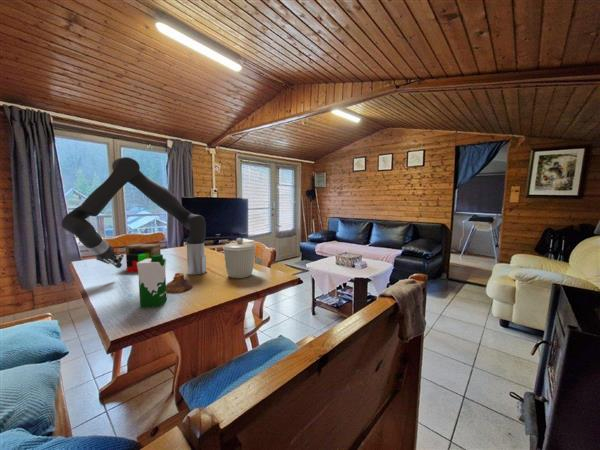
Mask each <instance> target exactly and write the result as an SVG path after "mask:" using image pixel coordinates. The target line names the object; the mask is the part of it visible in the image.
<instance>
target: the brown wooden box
mask: <svg viewBox="0 0 600 450" xmlns="http://www.w3.org/2000/svg"><path fill="white" fill-rule="evenodd" d="M137 251H147V252H151V256H152V255H157V254H161V244H160V243H131V244H128V245H126V246H125V256H126V255H128V254H131V253H134V252H137ZM125 260H126V259H125ZM125 262H126V263H127V260H126V261H125Z"/></svg>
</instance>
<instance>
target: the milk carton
mask: <svg viewBox="0 0 600 450" xmlns="http://www.w3.org/2000/svg"><path fill="white" fill-rule="evenodd" d="M166 261H167V258H164V255H163V254H157V255H152V256H151V259H145V260H142V261H140V262H138V263H137V268H138V272H137V274H138V290H139V291H138V292H139V307H140V308H141V309H143V308H144V309H145V308H146V309H147V308H160V307H161V306H162V305H163V304H164V303H166V302H167V300H168V299H167V292H166V285H167V282H166V281H167V279H166V265H167V262H166Z"/></svg>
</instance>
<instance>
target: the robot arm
mask: <svg viewBox="0 0 600 450" xmlns="http://www.w3.org/2000/svg"><path fill="white" fill-rule="evenodd" d="M140 167H141V166H140V163H139V162H138V161H137V160H136V159H134V158H132V157H129V156H123V157H119V158H116V159H115V160H114V161H112V165H111V168H112V172H111V173H110V175H109V176H108V177H107V179H105V180H104V182H102V184H100V185H99V186H98V187H97V188H96V189H94V190H93V191H92V192H91V193H90V194H89V195H88V196H87V198H86V199H85V200H84V201H83V202H82V203H81V204H80V205H79V206H77V207H76V208H74V209H72V210H71V211H70V212H69V213H67V214H66V215H65V216H64V217H63V218H62V221H61V227H62V228H63V229H64V230H65V231H67V232H68V233H71V234H72V235H74V236H75V237H77V238H78V240H79V242H80V243H81V244H82V245H83V246H85V248H86V249H87V250H88V251H89V252H90V253H91V254H92V255H93V256H94V257H95V258H96V260H97V261H100V262H102V263H105V264H107V265H110V264H111V265H113V266H114V267H115V268H116V269H120V268H122V263H121V262H122V260H123V258H124V256H125V255H123V254H121V255H119V254H118V253H117V252H115V250H114V247H113V246H112V245H111V244H110V243H109V242H108V241H107V240H106V239H105V238H104V237H103V236H101V235H100V234H99V233H98V232H97V230H96V229H95V227H94V225H93V224H92V223H91V222H90V221H88V220H87V219H88V218H89V217H98V215H100V213H102V211H103V210H104V209H105V208H106V207H107V205H108V204H109V203H110V202H111V200H112V199H113V198H114V197H115V195H116V194H117V193H118V192H119V191H120V190H121V189H122V188H123V187H124V186H125V185H126V184H127V183H129V184H131V185H132V186H133V187H135V188H136V189H138V190H139V192H141V193H142V194H143V195H144V196H146V197H147V198H148V199H149V200H150V201H151V202H153V203H154V204H155V205H157V207H159V208H161V210H164V212H166V213H167V214H169V215H170V216H173V217H174V218H175V219H176V220H177V221H178V222H179V223H180V224H181V225H182V226H183V227H185V229H187V230H189V236H188V237H187V238H186V257H187V258H186V259H187V261H186V263H187V274H188V275H191V276H193V275H194V276H195V275H203V274H205V272H207V255H206V253H205V240H206V235H207V233H206V231H207V223H206V219H205V217H204V216H203V215H200V214H194V213H193V212H190V211H189V210H188V209H186V208H185V207H184V206H183V205H182V204H181V202H180V200H179V199H178V198H177V196H176V195H175V194H173V192H171V191H170V190H169V189H168V188H166V187H165V186H164V185H162V184H160V183H158V182H157V181H155V180H153V179H152V178H149V177H148V176H146V175H145V174H144V173H143V172H142V171H141V170H140Z"/></svg>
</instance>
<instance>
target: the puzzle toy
mask: <svg viewBox="0 0 600 450" xmlns="http://www.w3.org/2000/svg"><path fill="white" fill-rule="evenodd" d="M125 258H126V259H125V260H127V262H126V273H138V268H137V263H138V262H140V261H142V260H145V259H151V252H147V251H137V252H134V253H131V254H128V255H126V254H125Z"/></svg>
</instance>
